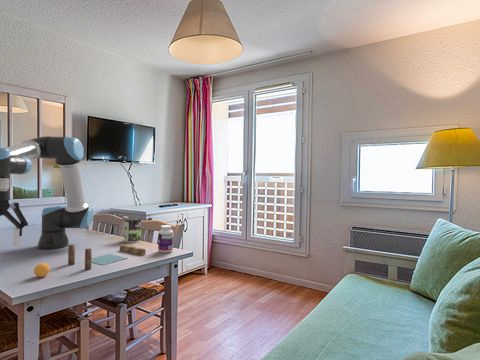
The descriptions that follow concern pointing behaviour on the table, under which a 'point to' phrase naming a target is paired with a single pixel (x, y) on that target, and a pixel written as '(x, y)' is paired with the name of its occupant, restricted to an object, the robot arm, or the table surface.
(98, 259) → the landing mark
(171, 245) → the pill bottle
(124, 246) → the wooden bar
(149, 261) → the table surface
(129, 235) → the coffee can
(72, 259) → the post
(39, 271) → the ball
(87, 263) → the post
